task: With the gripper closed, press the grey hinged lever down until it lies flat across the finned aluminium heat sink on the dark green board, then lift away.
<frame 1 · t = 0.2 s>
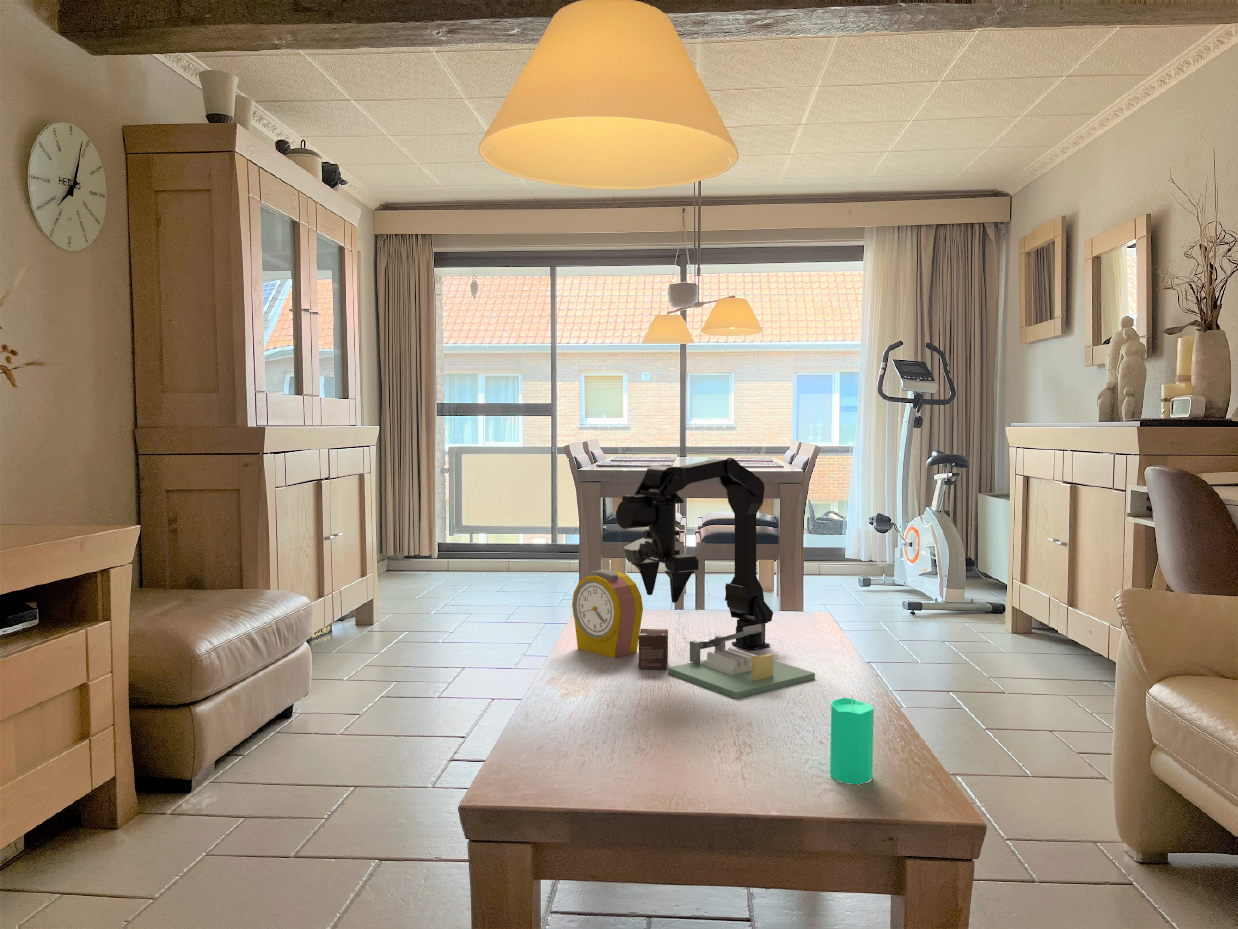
hand: (661, 598, 178), 14 cm above the table, fingers open, 9 cm apart
box: (653, 667, 178), on the table
board: (740, 676, 171), on the table
grey hinged lever: (729, 637, 173), point 7 cm above the table, hinge at 22.0°
alarm clock: (606, 651, 190), on the table
candle: (850, 777, 121), on the table
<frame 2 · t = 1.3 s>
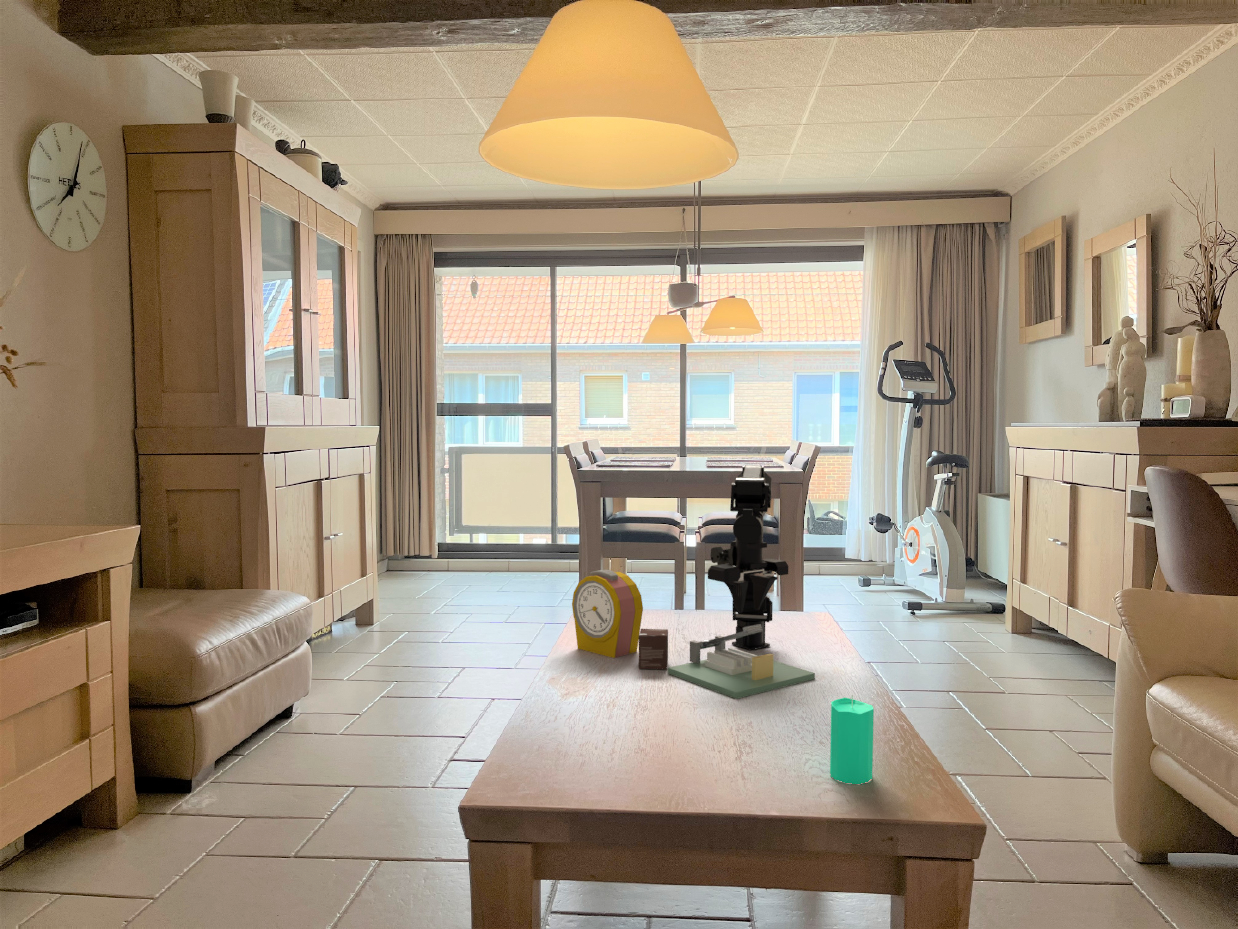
hand: (748, 610, 177), 12 cm above the table, fingers open, 5 cm apart
nothing on the table moved.
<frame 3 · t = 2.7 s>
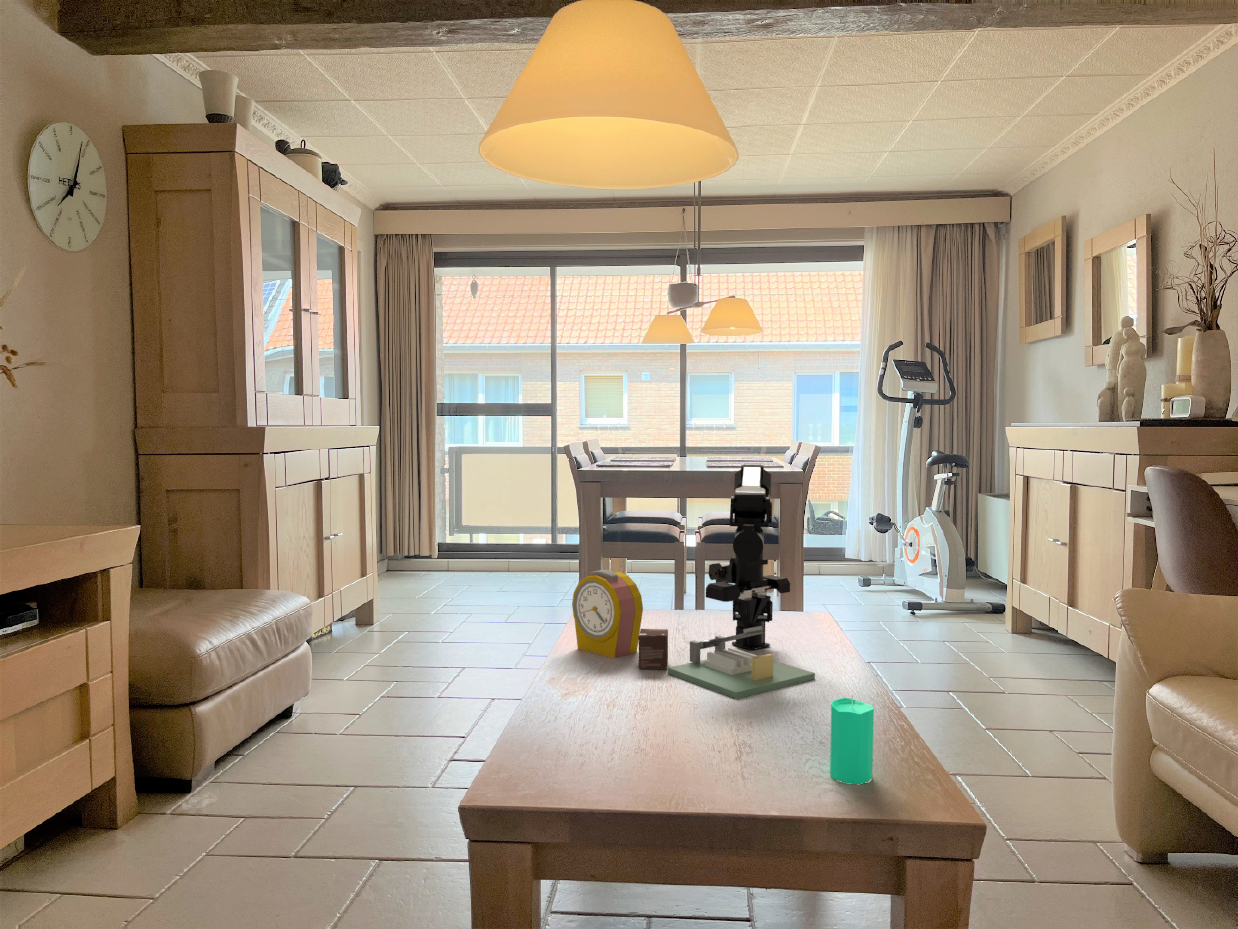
hand: (748, 630, 169), 10 cm above the table, fingers closed, pressing on grey hinged lever
grey hinged lever: (729, 638, 173), point 7 cm above the table, hinge at 20.5°, touching gripper
everything else where it was.
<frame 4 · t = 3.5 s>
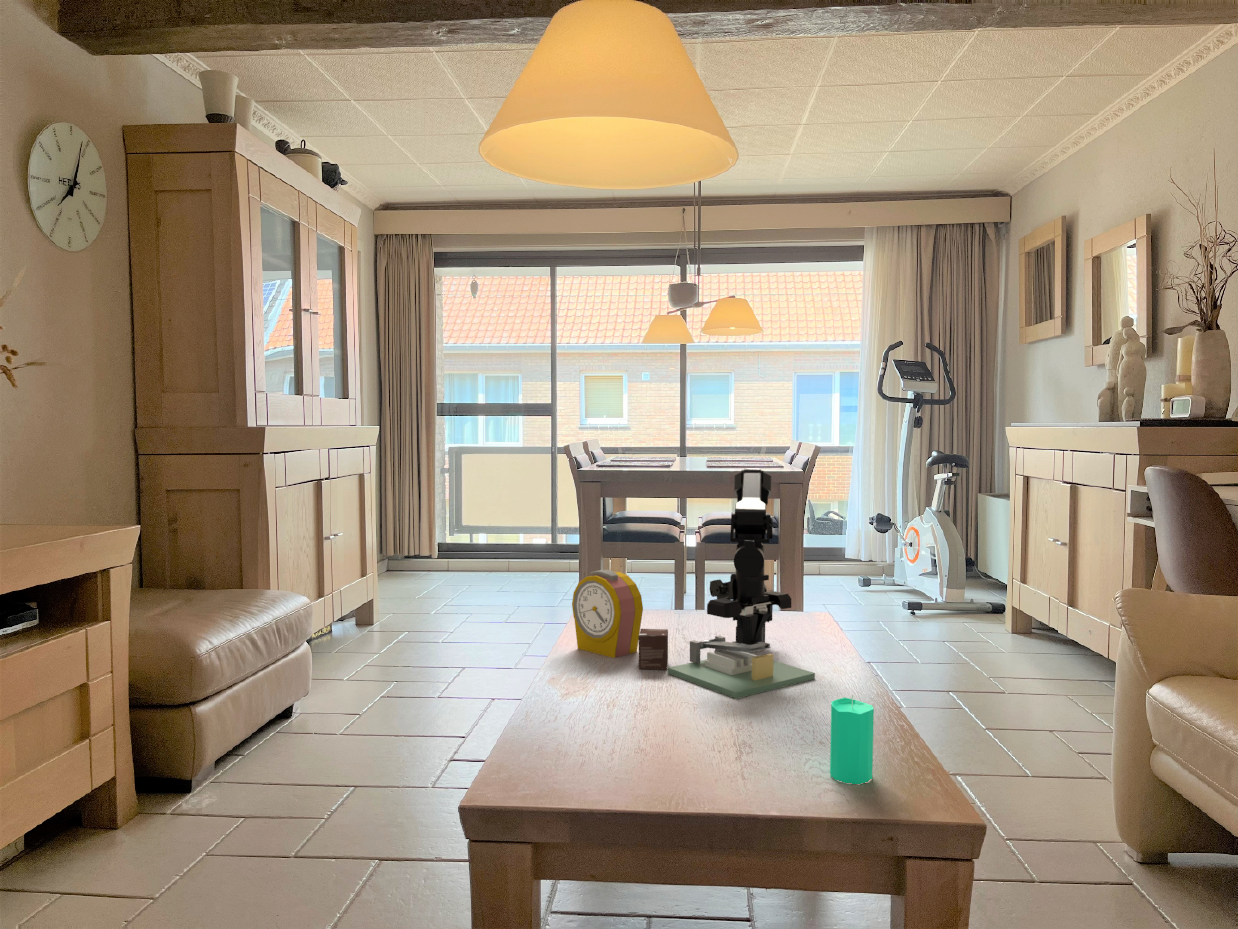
hand: (750, 646, 168), 7 cm above the table, fingers closed, pressing on grey hinged lever
grey hinged lever: (730, 645, 173), point 6 cm above the table, hinge at 8.1°, touching gripper
everything else where it was.
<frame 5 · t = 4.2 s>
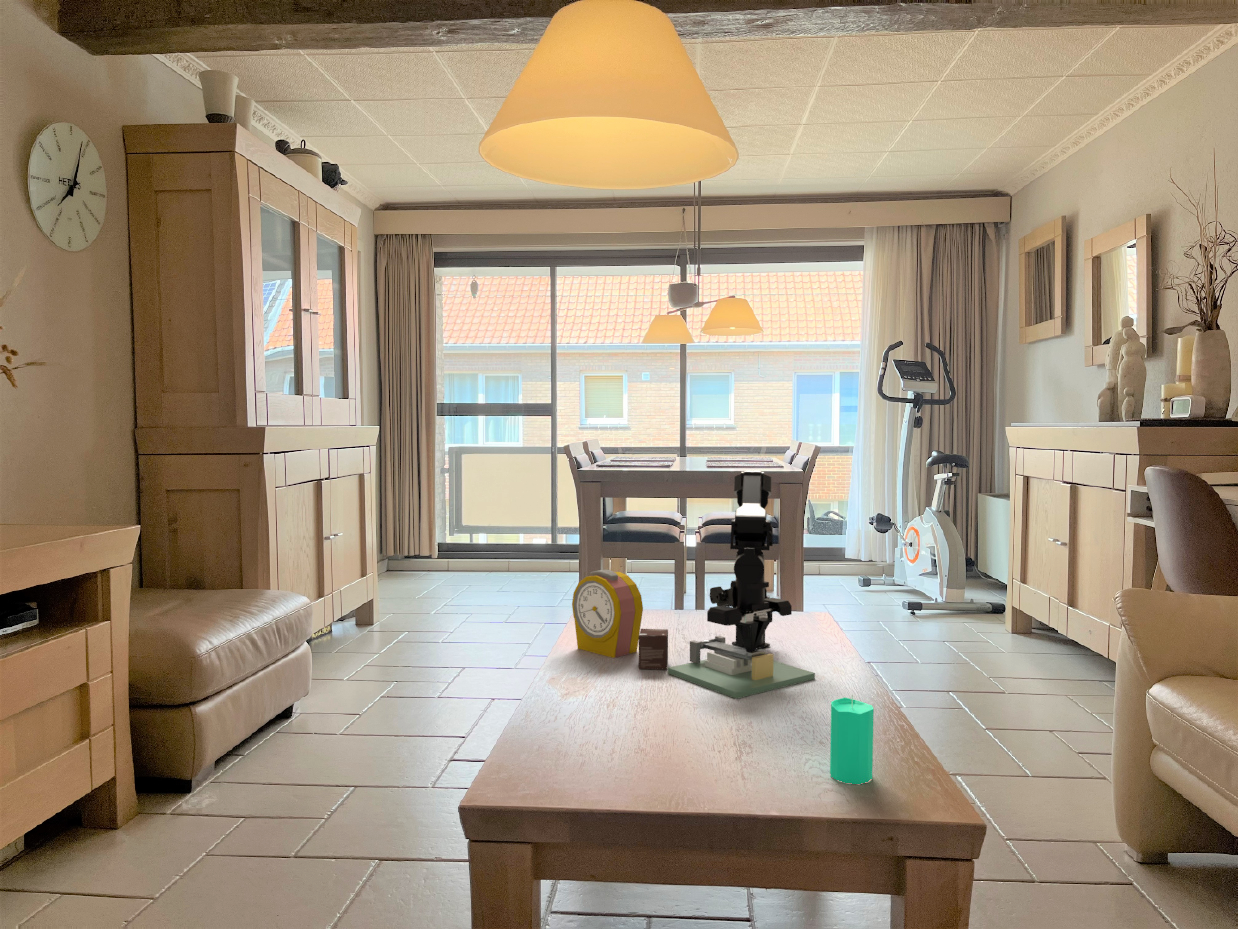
hand: (750, 653, 168), 5 cm above the table, fingers closed, pressing on grey hinged lever
grey hinged lever: (731, 649, 173), point 5 cm above the table, hinge at 2.0°, touching gripper
everything else where it was.
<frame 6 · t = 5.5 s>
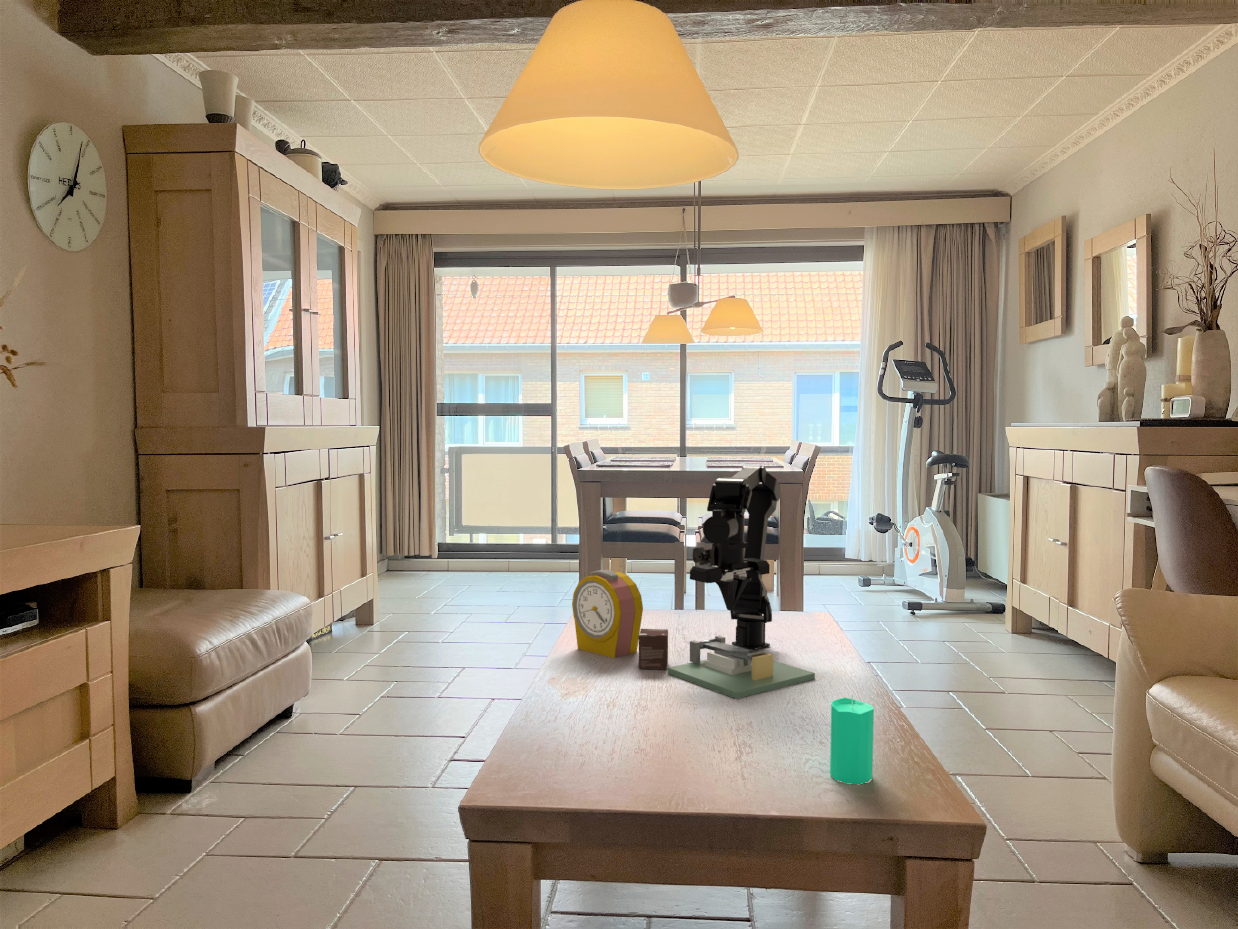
hand: (730, 610, 179), 12 cm above the table, fingers closed
grey hinged lever: (731, 649, 173), point 5 cm above the table, hinge at 2.0°
everything else where it was.
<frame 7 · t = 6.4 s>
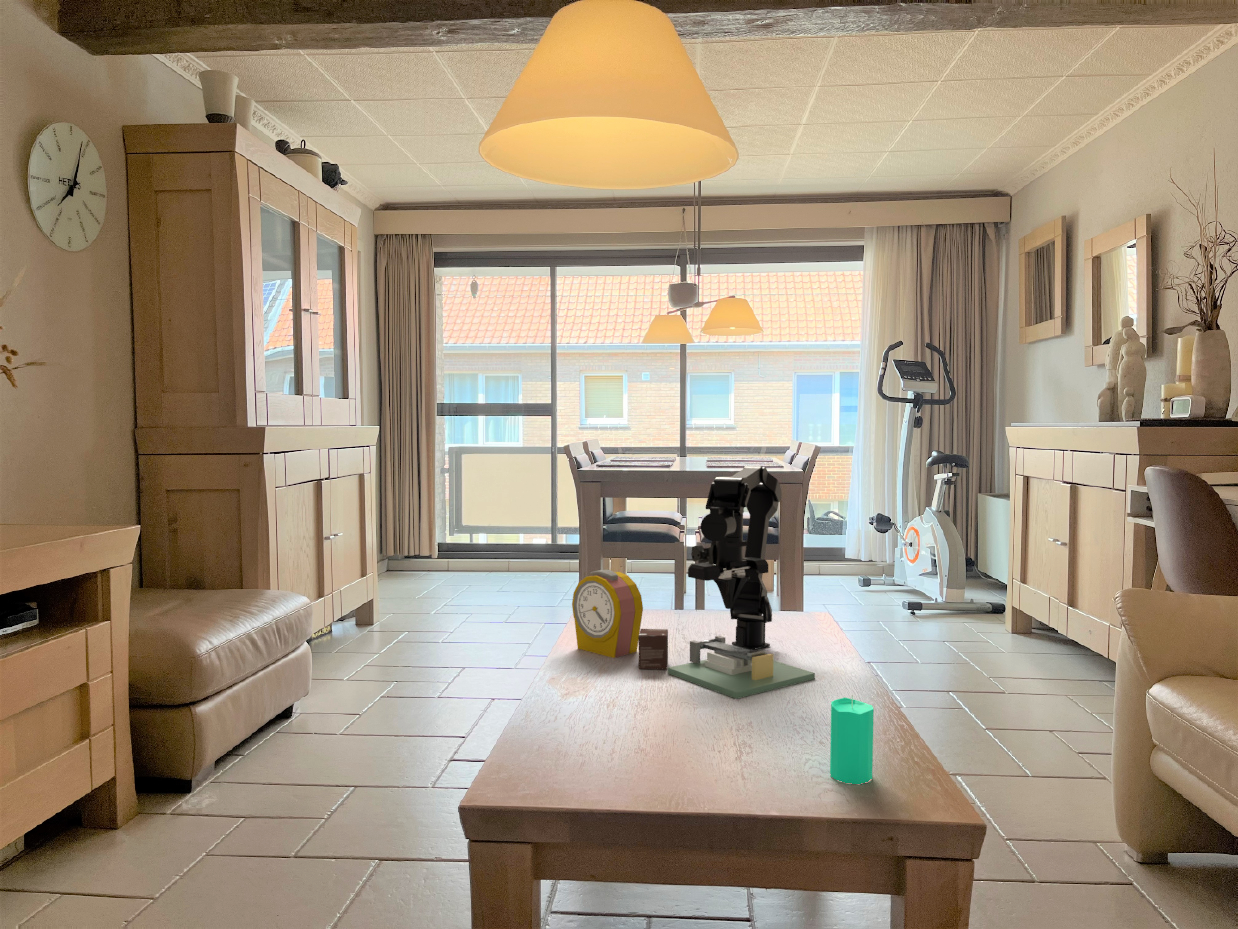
hand: (728, 608, 179), 12 cm above the table, fingers closed
nothing on the table moved.
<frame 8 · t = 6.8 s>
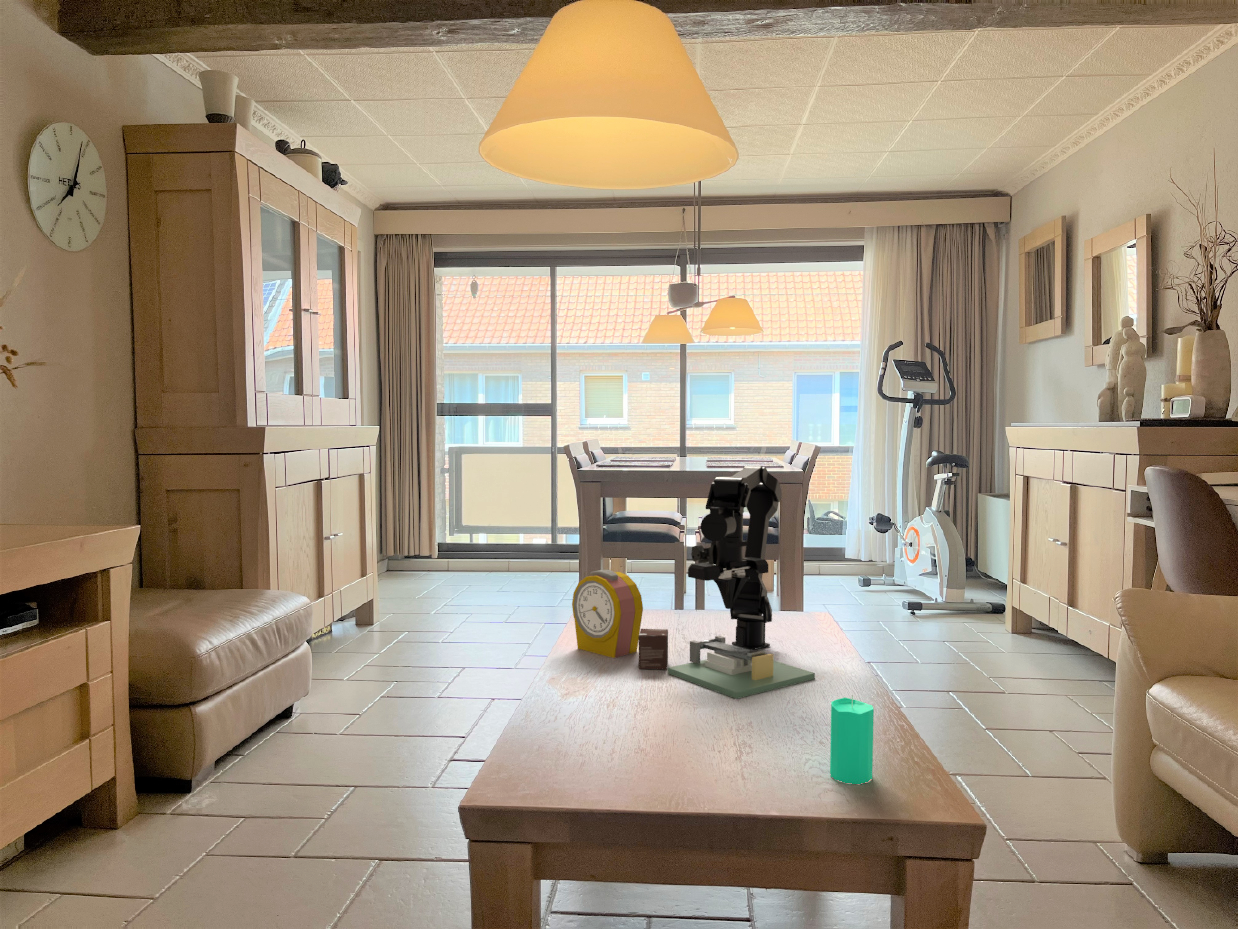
hand: (728, 608, 179), 12 cm above the table, fingers closed
nothing on the table moved.
at the end: grey hinged lever at +2° (first picture: +22°); grey hinged lever touching nothing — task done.
